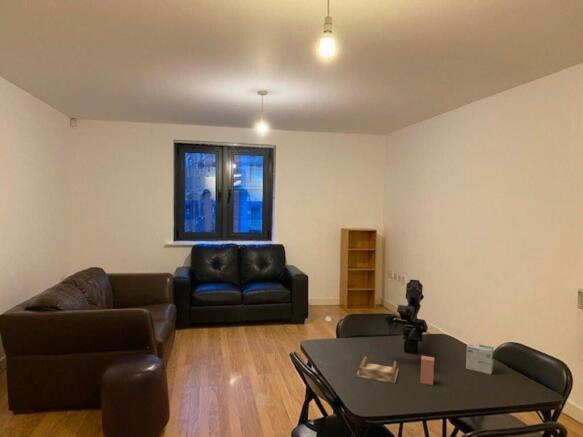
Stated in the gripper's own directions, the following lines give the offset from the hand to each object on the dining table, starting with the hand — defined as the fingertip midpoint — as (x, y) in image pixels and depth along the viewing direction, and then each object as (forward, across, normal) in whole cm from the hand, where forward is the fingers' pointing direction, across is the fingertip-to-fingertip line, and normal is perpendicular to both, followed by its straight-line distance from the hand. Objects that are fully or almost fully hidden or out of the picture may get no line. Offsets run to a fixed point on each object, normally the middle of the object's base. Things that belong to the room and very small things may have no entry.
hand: (399, 337), depth 177 cm
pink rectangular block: (+11, +13, +11) cm, 21 cm away
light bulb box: (-13, +24, +30) cm, 41 cm away
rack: (+16, -5, +6) cm, 18 cm away
